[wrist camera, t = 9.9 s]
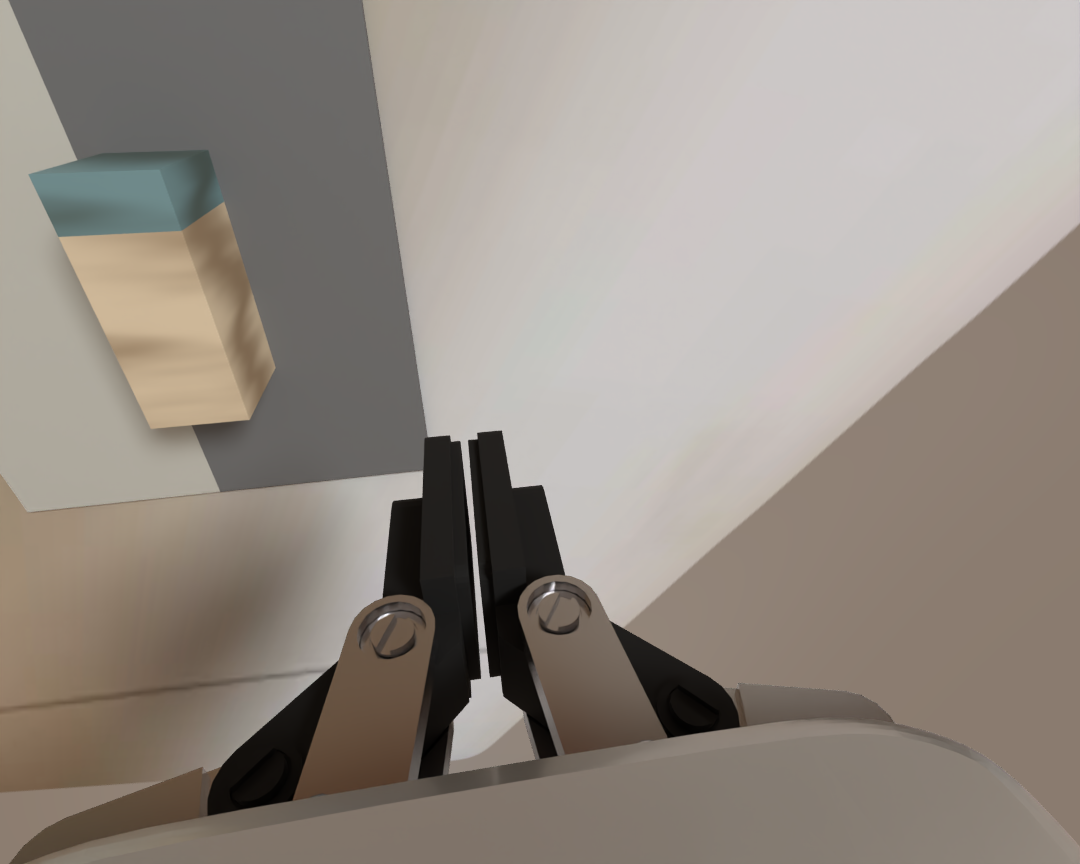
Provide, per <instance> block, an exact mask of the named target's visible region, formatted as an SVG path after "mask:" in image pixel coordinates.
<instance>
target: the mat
mask: <svg viewBox="0 0 1080 864" xmlns="http://www.w3.org/2000/svg"><path fill="white" fill-rule="evenodd" d="M186 150H208V151H209V154H210V157H211V161H212V164H213V167H214V170H215V173H216V177H217V180H218V183H219V186H220V190H221V193H222V196H223V199H224V203H225V206H226V209H227V212H228V215H229V219H230V222H231V225H232V228H233V232H234V235H235V238H236V241H237V245H238V248H239V251H240V254H241V257H242V261H243V264H244V267H245V270H246V274H247V277H248V280H249V283H250V287H251V290H252V293H253V296H254V299H255V303H256V306H257V309H258V312H259V316H260V319H261V322H262V325H263V329H264V332H265V335H266V338H267V341H268V345H269V348H270V351H271V354H272V358H273V361H274V364H275V367H276V368H275V370H274V372H273V374H272V376H271V378H270V380H269V382H268V384H267V386H266V388H265V390H264V392H263V394H262V396H261V398H260V400H259V402H258V404H257V406H256V408H255V410H254V412H253V414H252V416H251V418H250V420H243V421H232V422H221V423H210V424H199V425H188V426H177V427H167V428H156V429H151V428H150V426H149V424H148V422H147V420H146V417H145V415H144V413H143V411H142V409H141V407H140V405H139V403H138V401H137V399H136V397H135V395H134V393H133V391H132V388H131V386H130V384H129V382H128V380H127V378H126V376H125V374H124V372H123V370H122V368H121V366H120V364H119V362H118V359H117V357H116V355H115V353H114V351H113V349H112V347H111V345H110V343H109V341H108V339H107V337H106V335H105V333H104V330H103V328H102V326H101V324H100V322H99V320H98V318H97V316H96V314H95V312H94V310H93V308H92V306H91V304H90V301H89V299H88V297H87V295H86V293H85V291H84V289H83V287H82V285H81V283H80V281H79V279H78V277H77V275H76V272H75V270H74V268H73V266H72V264H71V262H70V260H69V258H68V256H67V254H66V252H65V250H64V248H63V246H62V243H61V241H60V239H59V237H58V235H57V233H56V231H55V229H54V227H53V225H52V223H51V221H50V219H49V217H48V214H47V212H46V210H45V208H44V206H43V204H42V202H41V200H40V198H39V196H38V194H37V192H36V190H35V188H34V186H33V183H32V181H31V179H30V177H29V175H28V174H31V173H34V172H38V171H41V170H45V169H48V168H52V167H55V166H59V165H62V164H66V163H69V162H73V161H76V160H80V159H83V158H87V157H91V156H94V155H98V154H101V153H124V152H155V151H186ZM425 438H427V430H426V424H425V417H424V410H423V404H422V397H421V390H420V384H419V377H418V370H417V364H416V357H415V350H414V344H413V337H412V330H411V324H410V317H409V310H408V304H407V297H406V290H405V284H404V277H403V270H402V263H401V257H400V250H399V243H398V237H397V230H396V223H395V217H394V210H393V203H392V197H391V190H390V183H389V177H388V170H387V163H386V157H385V150H384V143H383V137H382V130H381V123H380V117H379V110H378V103H377V97H376V90H375V83H374V77H373V70H372V63H371V56H370V50H369V43H368V36H367V30H366V23H365V16H364V10H363V3H362V0H0V474H1V475H2V476H3V478H4V479H5V481H6V482H7V484H8V485H9V486H10V488H11V489H12V491H13V492H14V494H15V495H16V496H17V498H18V499H19V501H20V502H21V503H22V505H23V506H24V508H25V509H26V511H27V512H35V511H45V510H54V509H64V508H73V507H82V506H92V505H101V504H110V503H120V502H129V501H138V500H148V499H157V498H167V497H176V496H185V495H195V494H204V493H213V492H223V491H232V490H241V489H251V488H260V487H269V486H279V485H288V484H298V483H307V482H316V481H326V480H335V479H344V478H354V477H363V476H372V475H382V474H391V473H401V472H410V471H419V470H423V466H424V439H425Z"/></svg>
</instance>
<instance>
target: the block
mask: <svg viewBox="0 0 1080 864" xmlns="http://www.w3.org/2000/svg"><path fill="white" fill-rule="evenodd" d="M28 175H29V177H30V179H31V181H32V183H33V186H34V188H35V190H36V192H37V194H38V196H39V198H40V200H41V202H42V204H43V206H44V208H45V210H46V212H47V214H48V217H49V219H50V221H51V223H52V225H53V227H54V229H55V231H56V233H57V235H58V237H59V239H60V241H61V243H62V246H63V248H64V250H65V252H66V254H67V256H68V258H69V260H70V262H71V264H72V266H73V268H74V270H75V272H76V275H77V277H78V279H79V281H80V283H81V285H82V287H83V289H84V291H85V293H86V295H87V297H88V299H89V301H90V304H91V306H92V308H93V310H94V312H95V314H96V316H97V318H98V320H99V322H100V324H101V326H102V328H103V330H104V333H105V335H106V337H107V339H108V341H109V343H110V345H111V347H112V349H113V351H114V353H115V355H116V357H117V359H118V362H119V364H120V366H121V368H122V370H123V372H124V374H125V376H126V378H127V380H128V382H129V384H130V386H131V388H132V391H133V393H134V395H135V397H136V399H137V401H138V403H139V405H140V407H141V409H142V411H143V413H144V415H145V417H146V420H147V422H148V424H149V426H150V428H151V429H156V428H167V427H177V426H188V425H199V424H210V423H221V422H232V421H243V420H250V418H251V416H252V414H253V412H254V410H255V408H256V406H257V404H258V402H259V400H260V398H261V396H262V394H263V392H264V390H265V388H266V386H267V384H268V382H269V380H270V378H271V376H272V374H273V372H274V370H275V368H276V367H275V364H274V361H273V358H272V354H271V351H270V348H269V345H268V341H267V338H266V335H265V332H264V329H263V325H262V322H261V319H260V316H259V312H258V309H257V306H256V303H255V299H254V296H253V293H252V290H251V287H250V283H249V280H248V277H247V274H246V270H245V267H244V264H243V261H242V257H241V254H240V251H239V248H238V245H237V241H236V238H235V235H234V232H233V228H232V225H231V222H230V219H229V215H228V212H227V209H226V206H225V203H224V199H223V196H222V193H221V190H220V186H219V183H218V180H217V177H216V173H215V170H214V167H213V164H212V161H211V157H210V154H209V151H208V150H186V151H155V152H124V153H101V154H98V155H94V156H91V157H87V158H83V159H80V160H76V161H73V162H69V163H66V164H62V165H59V166H55V167H52V168H48V169H45V170H41V171H38V172H34V173H31V174H28Z"/></svg>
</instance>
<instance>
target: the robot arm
mask: <svg viewBox="0 0 1080 864" xmlns="http://www.w3.org/2000/svg"><path fill="white" fill-rule="evenodd" d="M477 436H478V439H476V440H468V445H469V457H470V469H471V481H472V494H473V506H474V518H475V530H476V542H477V555H478V566H479V577H480V587H481V597H482V606H483V616H484V625H485V635H486V645H487V654H488V664H489V673H490V677H495V676H501V682H502V692H503V696H504V697H505V698H506V699H508V700H509V701H510V702H512V703H513V704H515V705H516V706H517V707H519V708H520V709H521V710H523V716H524V721H525V725H526V728H527V732H528V735H529V739H530V742H531V746H532V749H533V752H534V756H535V759H536V760H532V761H526V762H520V763H514V764H508V765H502V766H496V767H490V768H484V769H478V770H472V771H466V772H460V773H454V774H448V773H449V766H450V758H451V750H452V742H453V733H454V722H453V720H454V719H455V718H456V716H457V715H458V714H459V713H460V712H461V711H462V710H463V708H464V707H465V706H466V705H467V704H468V703H469V698H471V681H470V680H475V679H481V670H480V656H479V642H478V628H477V614H476V600H475V586H474V572H473V558H472V545H471V534H470V524H469V515H468V506H467V497H466V488H465V479H464V470H463V461H462V452H461V443H460V441H455V442H451V439H450V435H449V436H438V437H427V438H425V439H424V466H423V496H422V498H417V499H407V500H398V501H393V503H392V509H391V519H390V529H389V539H388V549H387V559H386V569H385V579H384V589H383V598H382V599H379V600H377V601H374V602H373V603H371V604H370V605H368V606H367V607H365V608H364V609H363V610H362V611H361V612H360V613H359V614H358V615H357V616H356V617H355V619H354V621H353V622H352V624H351V626H350V628H349V631H348V634H347V637H346V640H345V643H344V646H343V649H342V652H341V655H340V658H339V661H337V662H336V663H335V664H334V665H333V666H332V667H331V668H330V669H328V670H327V671H326V672H325V673H324V674H323V675H322V676H320V677H319V678H318V679H317V680H316V681H315V682H314V683H312V684H311V685H310V686H309V687H308V688H307V689H306V690H304V691H303V692H302V693H301V694H300V695H299V696H298V697H296V698H295V699H294V700H293V701H292V702H291V703H290V704H288V705H287V706H286V707H285V708H284V709H283V710H282V711H280V712H279V713H278V714H277V715H276V716H275V717H274V718H273V719H271V720H270V721H269V722H268V723H267V724H266V725H265V726H263V727H262V728H261V729H260V730H259V731H258V732H257V733H255V734H254V735H253V736H252V737H251V738H250V739H249V740H247V741H246V742H245V743H244V744H243V745H242V746H241V747H239V748H238V749H237V750H236V751H235V752H234V753H233V754H232V755H231V756H230V757H229V759H228V760H227V761H226V762H225V763H224V764H223V765H222V767H220V768H217V769H214V770H212V771H209V772H206V771H205V769H204V768H203V767H201V768H199V769H196V770H193V771H191V772H188V773H185V774H182V775H180V776H177V777H174V778H172V779H169V780H166V781H164V782H161V783H158V784H156V785H153V786H150V787H148V788H145V789H142V790H139V791H137V792H134V793H132V794H129V795H126V796H123V797H121V798H118V799H115V800H113V801H110V802H107V803H105V804H102V805H99V806H96V807H94V808H91V809H88V810H86V811H83V812H80V813H78V814H75V815H73V816H69V817H67V818H64V819H62V820H61V821H59V822H57V823H55V824H53V825H51V826H49V827H47V828H45V829H44V830H42V831H41V832H40V833H39V834H38V835H36V836H35V837H34V838H33V839H31V840H30V841H29V842H28V843H27V844H25V845H24V846H23V847H22V849H21V850H20V851H19V852H18V854H17V855H16V856H15V857H14V859H13V860H12V861H11V862H10V863H9V864H1080V847H1079V845H1078V844H1077V843H1076V842H1075V841H1074V840H1073V839H1072V837H1071V836H1070V835H1069V834H1068V833H1067V832H1066V831H1065V830H1064V829H1063V827H1061V826H1060V824H1059V823H1058V822H1057V821H1056V820H1055V819H1054V818H1053V817H1052V816H1051V815H1050V814H1049V813H1048V811H1047V810H1045V808H1044V807H1043V806H1042V805H1041V804H1040V803H1039V802H1038V801H1037V800H1036V799H1035V798H1034V797H1033V796H1032V795H1031V794H1030V793H1029V792H1028V791H1027V790H1026V789H1025V788H1024V787H1023V786H1022V785H1021V784H1020V783H1019V782H1017V781H1016V780H1015V779H1014V778H1013V777H1012V776H1011V775H1009V774H1008V773H1007V772H1006V771H1005V770H1004V769H1003V768H1001V767H1000V766H999V765H997V764H996V763H994V762H993V761H992V760H990V759H989V758H987V757H986V756H985V755H983V754H981V753H979V752H977V751H976V750H974V749H972V748H970V747H968V746H966V745H964V744H962V743H959V742H956V741H954V740H952V739H949V738H947V737H943V736H941V735H938V734H935V733H932V732H928V731H925V730H921V729H917V728H913V727H910V726H906V725H902V724H896V723H894V721H893V720H892V718H891V717H890V715H889V714H888V713H886V712H885V711H884V710H883V709H882V708H881V707H880V706H879V705H878V704H877V703H875V702H873V701H871V700H869V699H868V698H866V697H864V696H862V695H859V694H855V693H851V692H847V691H836V690H823V689H811V688H798V687H784V686H772V685H758V684H745V683H738V685H737V688H736V689H735V688H723V687H722V686H721V685H719V684H718V683H717V682H715V681H714V680H712V679H711V678H710V677H708V676H706V675H704V674H703V673H701V672H699V671H697V670H695V669H694V668H692V667H690V666H688V665H687V664H685V663H683V662H682V661H680V660H678V659H676V658H674V657H672V656H671V655H669V654H667V653H666V652H664V651H662V650H660V649H659V648H657V647H655V646H653V645H651V644H650V643H648V642H646V641H644V640H643V639H641V638H639V637H637V636H636V635H634V634H632V633H630V632H629V631H627V630H625V629H623V628H622V627H620V626H618V625H616V624H614V623H613V622H611V621H610V620H609V618H608V616H607V614H606V612H605V610H604V608H603V606H602V604H601V602H600V600H599V598H598V596H597V595H596V594H595V592H594V591H593V589H592V588H591V587H590V586H588V585H587V584H586V583H584V582H583V581H582V580H579V579H576V578H574V577H571V576H565V572H564V568H563V564H562V560H561V556H560V552H559V548H558V544H557V540H556V536H555V532H554V528H553V524H552V520H551V516H550V512H549V508H548V504H547V500H546V496H545V492H544V489H543V486H542V485H539V486H529V487H520V488H512V486H511V480H510V475H509V469H508V463H507V457H506V452H505V446H504V440H503V434H502V431H491V432H481V433H477Z"/></svg>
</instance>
